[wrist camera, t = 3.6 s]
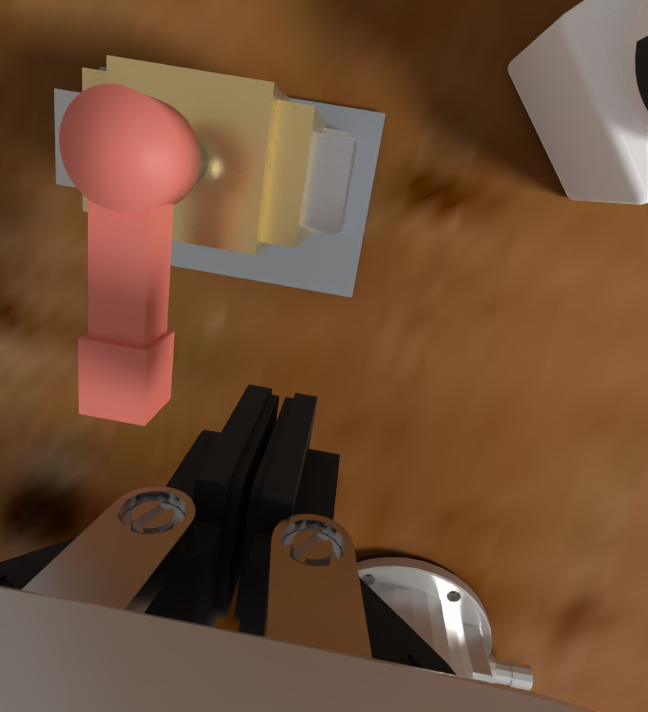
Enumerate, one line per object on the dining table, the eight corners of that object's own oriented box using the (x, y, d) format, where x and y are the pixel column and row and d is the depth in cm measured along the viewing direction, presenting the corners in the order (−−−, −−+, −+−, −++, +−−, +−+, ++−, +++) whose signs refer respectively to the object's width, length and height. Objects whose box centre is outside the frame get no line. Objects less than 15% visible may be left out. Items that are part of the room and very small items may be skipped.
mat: (385, 115, 24) (385, 113, 23) (352, 295, 27) (352, 297, 26) (105, 69, 24) (99, 66, 24) (103, 251, 27) (98, 252, 27)
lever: (204, 107, 15) (177, 94, 13) (183, 401, 18) (159, 428, 16) (101, 90, 15) (57, 74, 13) (99, 385, 18) (64, 410, 16)
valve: (362, 121, 24) (357, 80, 15) (341, 247, 26) (325, 281, 17) (119, 81, 24) (-35, 16, 15) (116, 208, 26) (-21, 220, 17)
